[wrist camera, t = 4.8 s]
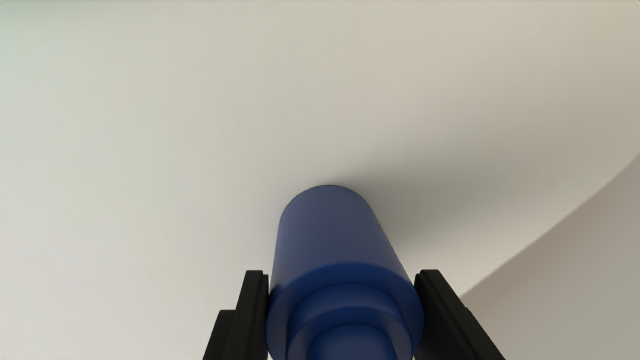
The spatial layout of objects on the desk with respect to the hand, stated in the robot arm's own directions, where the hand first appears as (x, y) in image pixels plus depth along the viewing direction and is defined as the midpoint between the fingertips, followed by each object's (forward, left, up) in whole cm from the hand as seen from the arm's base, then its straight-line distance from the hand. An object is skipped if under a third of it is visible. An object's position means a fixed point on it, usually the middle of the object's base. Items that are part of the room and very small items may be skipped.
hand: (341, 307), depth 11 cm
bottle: (0, 0, -6) cm, 6 cm away
